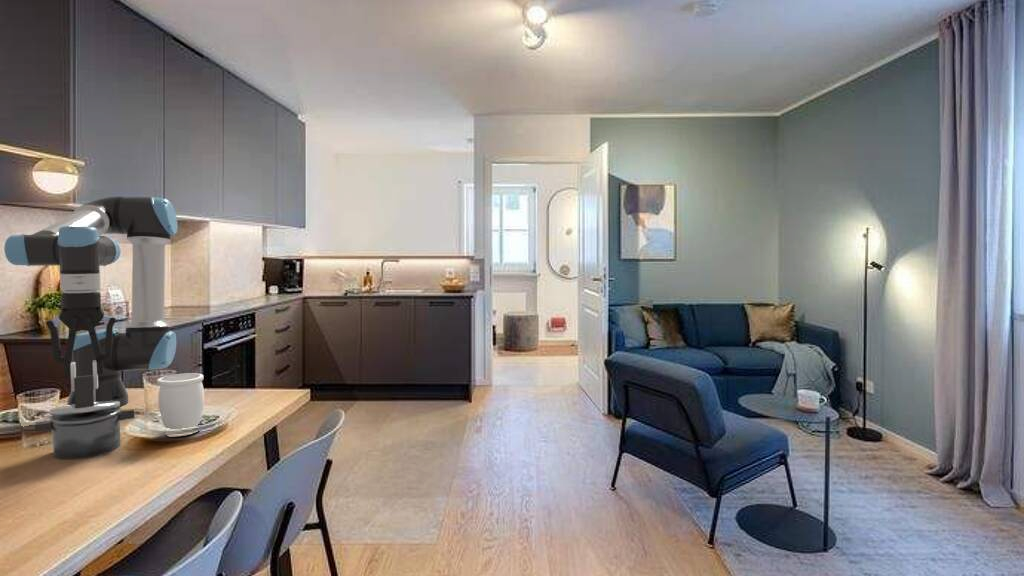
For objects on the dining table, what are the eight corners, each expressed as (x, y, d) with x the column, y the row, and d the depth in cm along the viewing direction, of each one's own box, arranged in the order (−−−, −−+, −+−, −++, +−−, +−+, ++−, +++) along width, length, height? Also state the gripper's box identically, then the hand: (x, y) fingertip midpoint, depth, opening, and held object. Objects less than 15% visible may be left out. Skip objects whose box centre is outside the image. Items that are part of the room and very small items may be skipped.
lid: (53, 411, 137) (52, 378, 137) (120, 403, 144) (119, 371, 144) (45, 417, 126) (44, 381, 126) (118, 408, 133) (117, 374, 133)
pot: (41, 448, 137) (39, 411, 136) (135, 434, 147) (134, 400, 146) (32, 466, 125) (30, 427, 125) (135, 450, 136) (133, 413, 135)
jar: (184, 441, 143) (182, 382, 142) (149, 437, 145) (147, 380, 144) (214, 427, 153) (212, 373, 152) (181, 425, 155) (179, 371, 154)
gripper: (32, 293, 126) (37, 397, 127) (122, 291, 135) (126, 387, 136) (37, 291, 132) (42, 390, 133) (123, 289, 141) (127, 381, 142)
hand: (85, 388), depth 135 cm, fingers closed on lid, 3 cm apart
